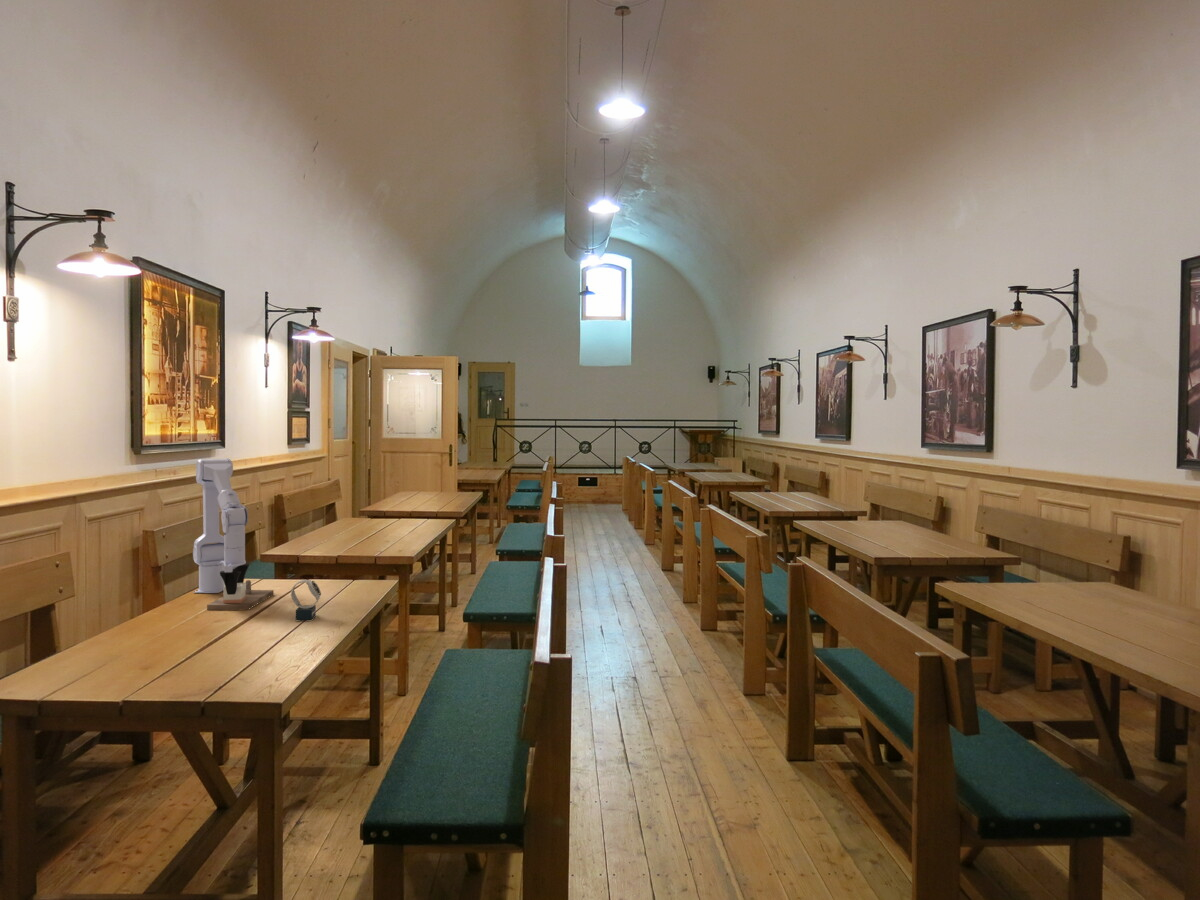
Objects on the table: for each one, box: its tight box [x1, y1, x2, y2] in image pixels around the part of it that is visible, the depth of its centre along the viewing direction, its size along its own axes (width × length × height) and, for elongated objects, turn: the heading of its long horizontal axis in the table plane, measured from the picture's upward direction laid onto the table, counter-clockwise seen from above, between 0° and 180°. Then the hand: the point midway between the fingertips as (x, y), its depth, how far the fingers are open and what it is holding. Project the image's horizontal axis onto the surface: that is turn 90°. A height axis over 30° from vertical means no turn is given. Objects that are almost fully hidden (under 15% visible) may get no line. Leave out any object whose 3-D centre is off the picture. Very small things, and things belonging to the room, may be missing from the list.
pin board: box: [206, 579, 274, 611], centre depth 240 cm, size 20×12×6 cm, turn 3°
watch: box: [290, 579, 322, 622], centre depth 222 cm, size 6×8×11 cm
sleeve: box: [222, 582, 246, 603], centre depth 235 cm, size 5×5×5 cm
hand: (234, 591), depth 235 cm, fingers open, 7 cm apart
